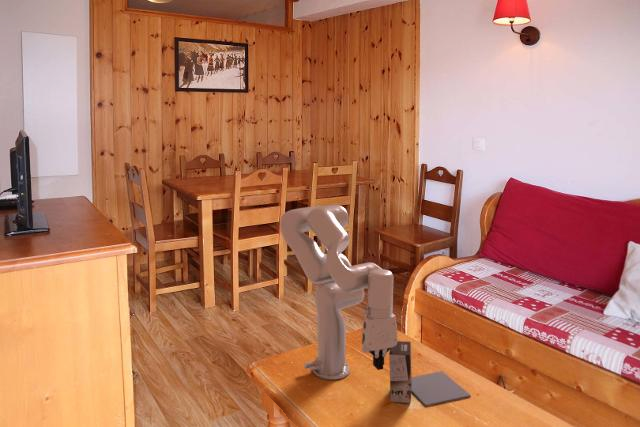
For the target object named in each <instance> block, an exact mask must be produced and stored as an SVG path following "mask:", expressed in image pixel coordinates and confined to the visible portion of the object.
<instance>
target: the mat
mask: <svg viewBox="0 0 640 427" xmlns="http://www.w3.org/2000/svg"><path fill="white" fill-rule="evenodd" d="M411 394H413V395H414V396H415V397H416V398H417V399H418V401H419V402H421V403H422V404H423V405H424V407H430V406H434V405H439V404H444V403H448V402H449V403H450V402H454V401H458V400H462V399H468V398H471V394H470V393H469V392H467V391H466V390H465V389H464V388H463V387H462V386H460V384H458V383H457V382H456V381H455V380H453V379H452V378H451V377H450V376H449V375H448V374H446V373H445V372H444V371H443V370H441V371H436V372H431V373H426V374H421V375H415V376H412V390H411Z"/></svg>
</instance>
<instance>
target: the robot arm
mask: <svg viewBox="0 0 640 427" xmlns="http://www.w3.org/2000/svg"><path fill="white" fill-rule="evenodd" d="M349 218H350V216H349V213H348V211H347V210H346V208H344V207H343V206H342V205H340V204H329V205H327V204H326V205H324V204H323V205H314V206H307V207H301V208H295V209H290V210H288V211H285V212H284V213H283V214H282V215H281V217H280V223H279V226H280V233H281V235H282V238H283V240H284V241H285V243H286V245H287V246H288V247H289V248H290V249H291V250H292V252H293V253H294V255H295V257H296V258H297V261H298V263H299V264H300V266H301V268H302V270H303V272H304V275H305V276H306V277H307V279H308V280H309V282H310V283H311V284H315V285H318V284H321V285H319V286H318V287H317V288H316V289H315V291H314V303H315V308H316V316H317V356H316V357H314V360H312V361H309V362H304V363H303V368H304V369H309V370H310V371H311V372H312V371H313V374H314V375H315V376H317V377H318V378H321V379H324V380H335V381H336V380H340V379H344V378H346V377H347V376H348V375H349V374H350V372H351V367H350V365H349V364H348V363H347V362H346V348H347V346H346V345H347V344H346V343H347V342H346V341H347V340H346V338H347V329H346V328H347V323H346V319H345V317H344V316H343V314H342V312H341V310H343V309H345V308H349V307H354V306H356V305H359V304H360V303H362V301H363V300H364V298H365V290H364V289H367V299H366V300H367V302H366V304H367V305H366V308H365V309H363V310H362V312H363V314H364V319H363V322H362V323H363V324H362V330H361V332H362V333H361V343H362V347H361V351H362V352H363V353H364V354H365V353H366V354H371V355H372V365H373V366H374V368H376V370H377V371H380V370H383V369H384V365H385V357H386V356H387V353H388V352H389V351H390V349H392V348H395V346H396V345H397V342H398V340H399V339H398V325H397V319H396V315H395V314H394V313H393V310H394V309H393V307H394V306H393V305H394V274H393V273H392V272H393V271H391V270H389V269H383V268H382V267H380V266H379V265H377V263H374V262H364V263H363V262H362V263H360V264H355V265H352V264H351V262H350V261H349V259H348V258H347V257H346V256H345V255H344V254H343V253H342V252H344V251H345V250H346V249H347V247H348V246H349V244H350V240H351V238H350V234H348V232H347V231H346V230H345V229H344V228H346V227H347V226H348V225H349V222H350V221H349V220H350V219H349ZM306 232H313V233H314V235H315V236H316V238H317V239H318V241H320V243H321V245H322V246H323V247H324V248H325V249H326V251H327V253H323V252H322V250H321V248H320V247H319V245H318V243H317V242H316V241H315V240H314V239H313V238H312V237H311V236H308V235H307V234H306Z"/></svg>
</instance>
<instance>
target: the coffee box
mask: <svg viewBox="0 0 640 427" xmlns="http://www.w3.org/2000/svg"><path fill="white" fill-rule="evenodd" d="M411 343H412V342H411V341H398V340H397V345H396V346H395V348H392V349H390V350H389V351H388V352H389V353H388V356H389V361H388V362H389V388H390V389H389V390H390V402H392V403H404V404H405V403H406V404H410V403H411V402H412V392H411V390H412V377H413V375H412V351H411V349H412V347H411V346H412V345H411Z"/></svg>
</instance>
